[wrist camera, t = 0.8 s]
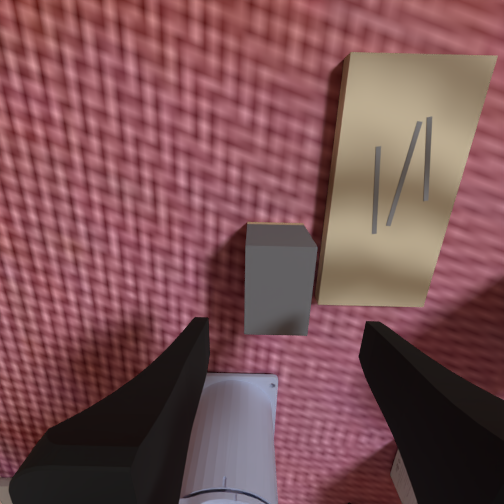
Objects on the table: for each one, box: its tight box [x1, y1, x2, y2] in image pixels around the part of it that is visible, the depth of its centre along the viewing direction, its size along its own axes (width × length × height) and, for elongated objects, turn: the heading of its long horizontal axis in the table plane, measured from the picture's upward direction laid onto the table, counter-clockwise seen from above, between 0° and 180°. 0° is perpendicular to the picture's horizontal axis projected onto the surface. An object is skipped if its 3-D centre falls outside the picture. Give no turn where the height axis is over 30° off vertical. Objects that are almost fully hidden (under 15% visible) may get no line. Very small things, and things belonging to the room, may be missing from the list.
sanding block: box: [244, 222, 318, 336], centre depth 18 cm, size 6×4×5 cm, turn 179°
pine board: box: [315, 52, 498, 307], centre depth 18 cm, size 16×8×1 cm, turn 179°
